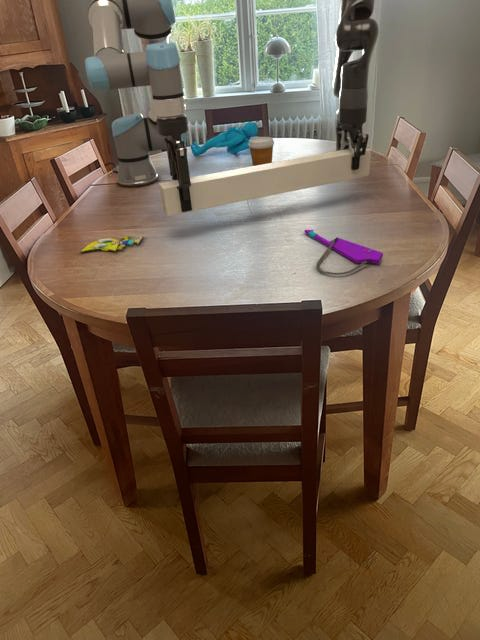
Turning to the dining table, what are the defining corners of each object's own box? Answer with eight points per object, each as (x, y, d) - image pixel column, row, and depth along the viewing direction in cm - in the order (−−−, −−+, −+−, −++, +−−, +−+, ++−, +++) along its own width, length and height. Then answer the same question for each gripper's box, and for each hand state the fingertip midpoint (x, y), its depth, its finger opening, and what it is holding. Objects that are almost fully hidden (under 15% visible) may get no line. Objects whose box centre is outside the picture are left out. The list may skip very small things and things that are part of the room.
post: (167, 216, 127) (162, 188, 123) (163, 210, 131) (158, 183, 127) (369, 175, 142) (371, 150, 138) (360, 171, 146) (361, 146, 142)
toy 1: (132, 249, 128) (79, 250, 130) (133, 252, 128) (80, 253, 130) (143, 234, 136) (94, 235, 138) (144, 236, 137) (94, 237, 139)
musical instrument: (365, 286, 105) (394, 240, 117) (364, 278, 104) (394, 233, 116) (270, 272, 118) (305, 232, 130) (268, 265, 117) (304, 225, 129)
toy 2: (196, 135, 215) (258, 116, 205) (204, 159, 220) (265, 140, 210) (184, 145, 202) (251, 124, 191) (193, 169, 207) (259, 151, 196)
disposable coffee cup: (246, 176, 178) (244, 142, 172) (255, 168, 186) (253, 136, 179) (270, 177, 175) (269, 143, 168) (278, 169, 182) (277, 136, 176)
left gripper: (195, 120, 111) (207, 215, 124) (177, 108, 125) (189, 194, 138) (164, 125, 109) (178, 221, 122) (148, 112, 123) (163, 199, 136)
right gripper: (379, 106, 127) (374, 171, 136) (351, 99, 138) (348, 158, 148) (355, 111, 125) (351, 175, 134) (328, 102, 136) (326, 163, 146)
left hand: (184, 207), depth 130 cm, fingers closed on post, 5 cm apart
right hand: (349, 166), depth 141 cm, fingers closed on post, 5 cm apart
